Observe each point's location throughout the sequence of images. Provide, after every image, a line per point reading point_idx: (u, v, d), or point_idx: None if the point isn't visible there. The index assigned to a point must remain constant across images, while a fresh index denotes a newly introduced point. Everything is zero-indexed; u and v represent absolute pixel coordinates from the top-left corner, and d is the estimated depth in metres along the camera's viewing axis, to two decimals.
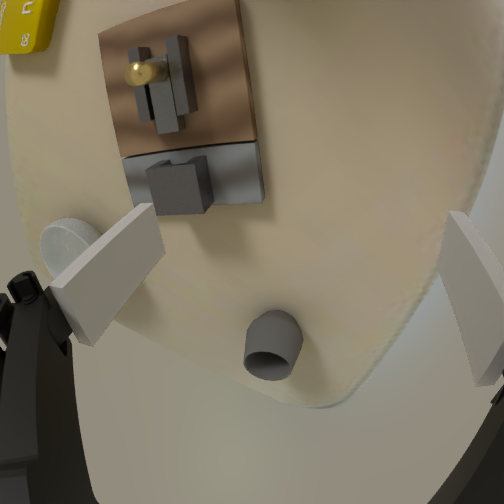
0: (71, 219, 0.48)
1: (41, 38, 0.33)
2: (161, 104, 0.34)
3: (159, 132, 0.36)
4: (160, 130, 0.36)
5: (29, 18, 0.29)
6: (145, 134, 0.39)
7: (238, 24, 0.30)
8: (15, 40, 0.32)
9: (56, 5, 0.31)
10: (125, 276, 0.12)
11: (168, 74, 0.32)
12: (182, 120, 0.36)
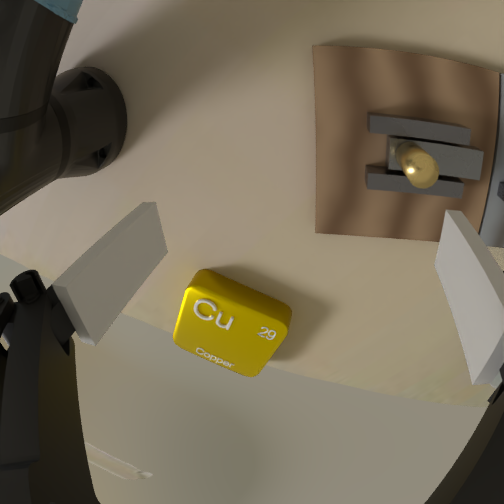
0: None
1: (277, 312, 0.42)
2: (449, 163, 0.25)
3: (478, 177, 0.24)
4: (476, 175, 0.24)
5: (240, 321, 0.42)
6: (465, 202, 0.28)
7: (362, 47, 0.23)
8: (257, 346, 0.44)
9: (239, 285, 0.43)
10: (128, 276, 0.12)
11: (417, 142, 0.25)
12: (468, 146, 0.24)
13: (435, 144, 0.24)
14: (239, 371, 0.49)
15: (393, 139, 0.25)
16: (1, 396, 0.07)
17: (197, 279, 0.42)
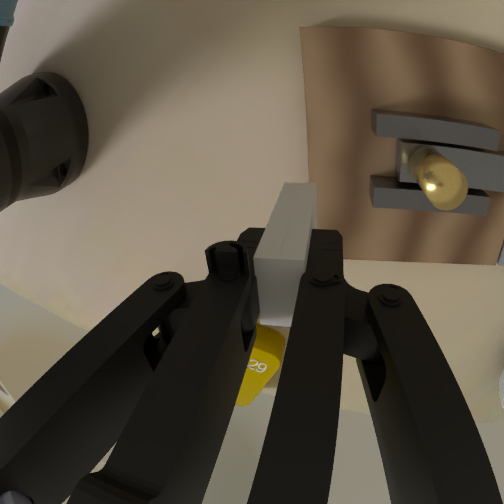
0: None
1: (268, 343, 0.36)
2: (473, 172, 0.19)
3: None
4: (503, 187, 0.19)
5: None
6: (488, 217, 0.22)
7: None
8: (247, 378, 0.38)
9: None
10: None
11: (435, 147, 0.19)
12: None
13: (457, 149, 0.19)
14: None
15: (406, 144, 0.20)
16: (122, 401, 0.07)
17: None
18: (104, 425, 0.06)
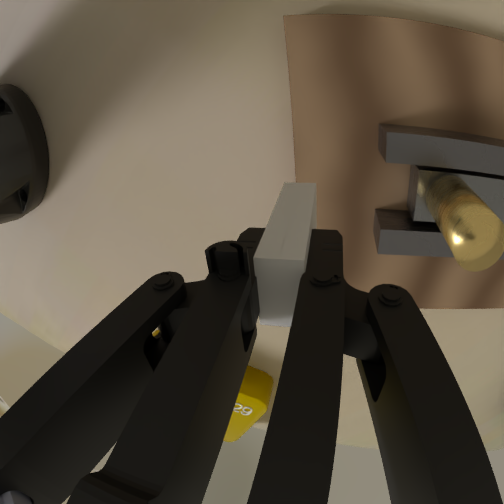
0: None
1: (253, 386, 0.31)
2: None
3: None
4: None
5: None
6: None
7: None
8: (232, 419, 0.33)
9: None
10: None
11: (461, 176, 0.14)
12: None
13: (488, 179, 0.14)
14: None
15: (424, 172, 0.15)
16: (121, 401, 0.07)
17: None
18: (104, 425, 0.06)
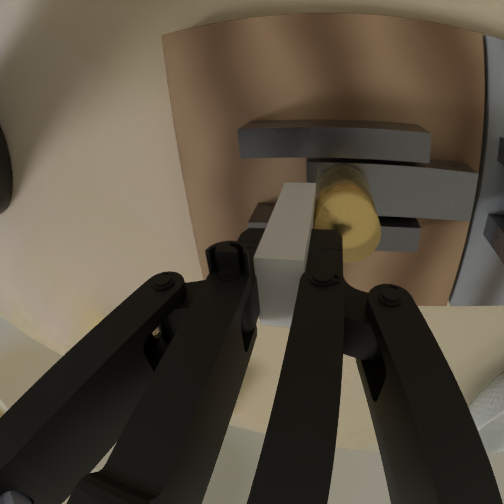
0: (478, 406, 0.24)
1: None
2: (417, 197, 0.16)
3: (467, 217, 0.15)
4: (465, 214, 0.15)
5: None
6: (430, 249, 0.19)
7: None
8: None
9: None
10: None
11: (356, 165, 0.16)
12: (453, 163, 0.15)
13: (390, 166, 0.15)
14: None
15: (311, 164, 0.16)
16: (122, 401, 0.07)
17: None
18: (104, 426, 0.06)
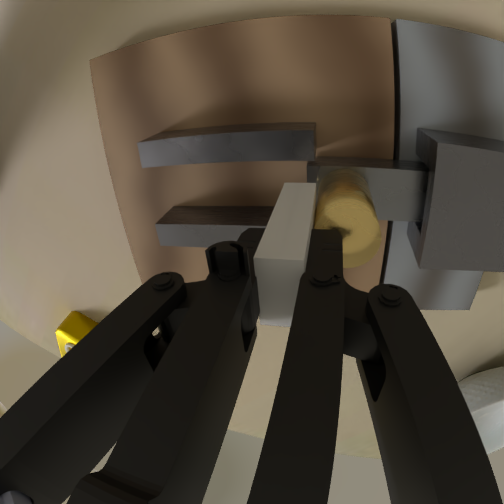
0: None
1: None
2: (418, 201, 0.15)
3: None
4: None
5: None
6: None
7: None
8: None
9: None
10: None
11: (357, 168, 0.15)
12: None
13: (391, 170, 0.15)
14: None
15: (312, 167, 0.16)
16: (121, 401, 0.07)
17: (64, 322, 0.34)
18: (104, 425, 0.06)
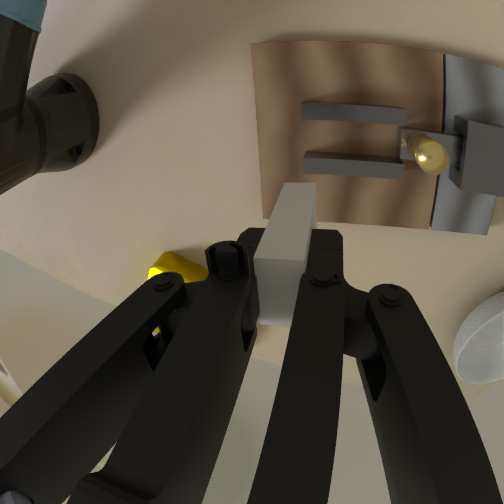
0: (464, 326, 0.35)
1: None
2: (457, 153, 0.25)
3: None
4: None
5: None
6: (413, 185, 0.30)
7: (298, 41, 0.26)
8: None
9: (199, 267, 0.46)
10: None
11: (427, 133, 0.25)
12: None
13: (444, 135, 0.25)
14: None
15: (404, 130, 0.26)
16: (121, 401, 0.07)
17: (159, 260, 0.44)
18: (104, 425, 0.06)
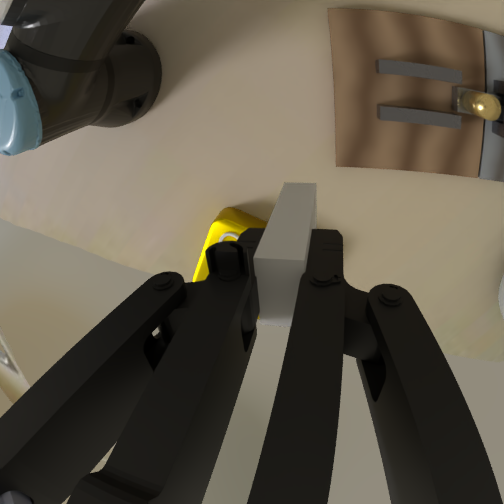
0: None
1: None
2: None
3: None
4: None
5: None
6: (465, 137, 0.30)
7: (368, 10, 0.26)
8: None
9: (262, 222, 0.46)
10: None
11: (476, 91, 0.25)
12: None
13: (489, 94, 0.25)
14: None
15: (460, 88, 0.26)
16: (121, 401, 0.07)
17: (223, 214, 0.44)
18: (104, 425, 0.06)
